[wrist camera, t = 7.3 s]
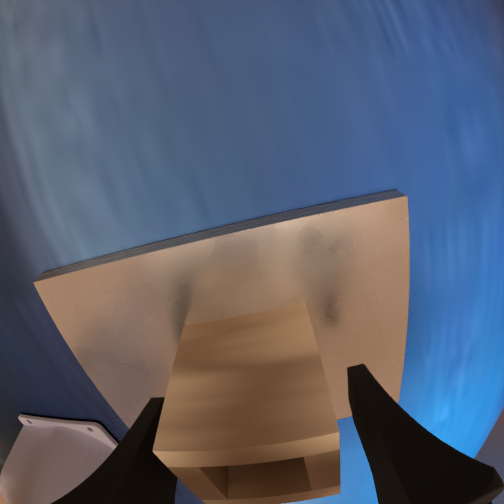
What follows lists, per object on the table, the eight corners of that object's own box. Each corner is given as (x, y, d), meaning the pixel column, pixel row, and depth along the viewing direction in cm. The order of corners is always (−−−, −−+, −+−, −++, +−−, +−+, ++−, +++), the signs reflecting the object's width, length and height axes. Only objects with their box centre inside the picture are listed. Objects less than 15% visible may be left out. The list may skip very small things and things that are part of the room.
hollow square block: (218, 401, 14) (210, 507, 9) (183, 326, 12) (152, 451, 7) (317, 385, 14) (340, 493, 9) (305, 303, 12) (339, 432, 7)
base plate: (142, 429, 17) (126, 494, 13) (43, 272, 13) (-19, 336, 8) (393, 390, 16) (421, 459, 11) (396, 189, 11) (475, 239, 7)
